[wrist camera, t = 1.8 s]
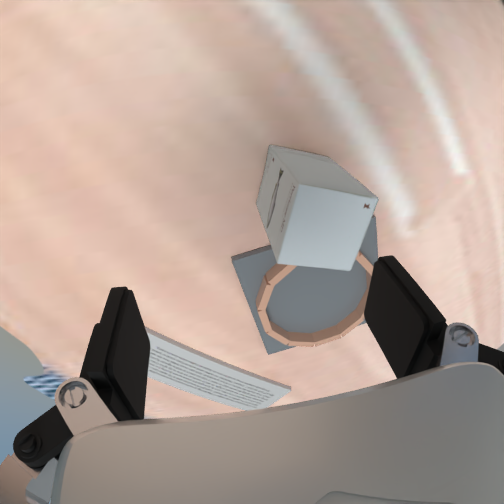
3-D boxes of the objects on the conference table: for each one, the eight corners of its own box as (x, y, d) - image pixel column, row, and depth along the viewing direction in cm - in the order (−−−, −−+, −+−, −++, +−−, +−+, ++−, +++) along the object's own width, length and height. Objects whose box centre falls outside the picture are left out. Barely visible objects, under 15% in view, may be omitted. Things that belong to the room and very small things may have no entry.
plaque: (291, 390, 56) (257, 413, 60) (289, 384, 58) (256, 408, 61) (142, 330, 44) (116, 363, 47) (143, 323, 45) (117, 356, 48)
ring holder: (372, 213, 40) (382, 224, 37) (376, 313, 50) (383, 326, 47) (231, 256, 40) (233, 270, 38) (267, 350, 50) (270, 364, 48)
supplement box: (268, 142, 33) (299, 180, 23) (329, 156, 35) (383, 198, 24) (253, 204, 37) (274, 265, 26) (312, 213, 38) (352, 273, 28)
